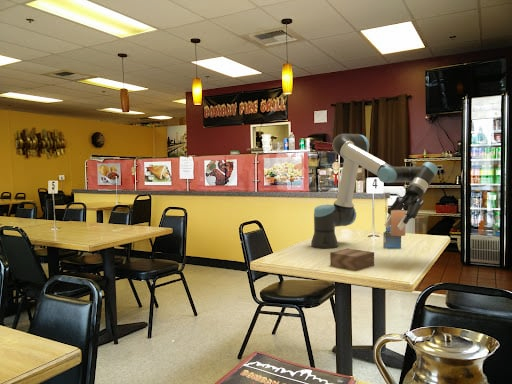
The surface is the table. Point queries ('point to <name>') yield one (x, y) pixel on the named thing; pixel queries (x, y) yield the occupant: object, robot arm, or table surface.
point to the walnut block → (352, 259)
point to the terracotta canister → (397, 222)
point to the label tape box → (391, 239)
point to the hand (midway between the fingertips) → (392, 227)
